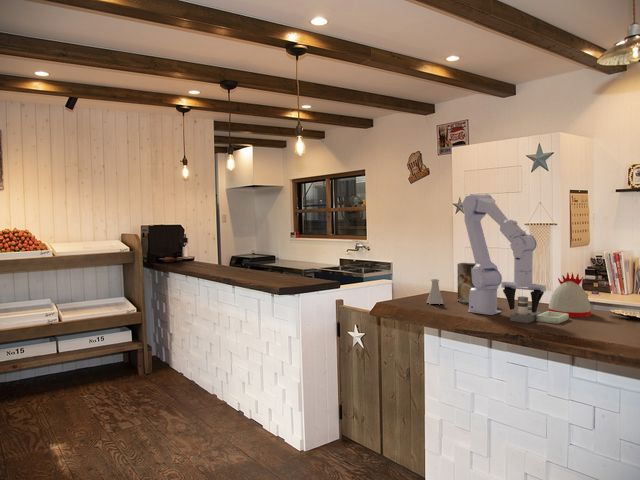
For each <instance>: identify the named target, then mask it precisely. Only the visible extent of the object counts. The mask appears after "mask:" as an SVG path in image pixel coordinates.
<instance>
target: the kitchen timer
mask: <svg viewBox="0 0 640 480" xmlns="http://www.w3.org/2000/svg"><path fill="white" fill-rule="evenodd" d="M579 274H580V273H577V275H576V277H575V276H574V273H573V272H571V276H570V275H569V272H566V277H565V275H564V274H563V275H562V280H561V279H560V278H559V277H558V278H557V280H558V283H559V285H558V286H557V287H556V289H554V290H553V293H552V295H551V297H550V300H549V303H548V310H547V311H551V312H559V313H567V314H569V318H586V317H591V315H592V307H591V303H590V299H589V294H588V293H587V292H586V291H585V290H584V288H583V287H582V286H581V285H580V284H581V282H582V281H583V279H584V277H583V276H582V277H581V278H579V277H580V275H579Z"/></svg>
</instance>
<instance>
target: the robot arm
mask: <svg viewBox="0 0 640 480" xmlns="http://www.w3.org/2000/svg"><path fill="white" fill-rule="evenodd" d="M461 205H462V209H463V215H464V224H465V227H466V231H467V235H468V239H469V243H470V247H471V252H472V255H473V259H474V263H475V264H476V265H475V266H474V267H473V268H472V270H471V271H472V283H473V285H474V286H475V288H472V289H471V290H470V293H469V303H468V310H467V311H468V312H469V313H474V314H482V315H489V316H493V315H496V314H500V313H502V310H498V289H499V286H500V285H501V289H502V288H503V289H502V291H503V294H504V296H505V298H506V300H507V304H508V306H509V310H511V311H512V310H515V306H516V305H515V304H516V303H515V298H516V292H517V290H527V291H530V297H531V306H532V312H533V313H534V312H538V308H539V304H540V301H541V298H542V297H543V295H544V294H545V292H546V291H547V285H546V284H538V283H533V266H534V265H533V257H534V256H533V254H534V251H535V250H536V248H537V245H538V244H537V243H538V242H537V240H536V238H535V236H534V235H532V234H527V232H526V231H525V230H523V229H522V228H521V227H520V225H519V224H518V221H516V220H513V219H508V218H507V217H506V215H505V214H504V213H503V211H502V209H500V208H499V207H498V205H497V203H496V200H495V199H494V198H493V197H492V195H490V194H489V193H486V194H473V193H469V194H467V195H466V196H465V197H464V199H463V200H462V203H461ZM486 215H488V216H489V217H490V218H491V219H492V220H493V221H494V222H495V223H496V224H497V225H499V226H500V227H499V231H500V232H501V235H503V236H504V237H505V238H506V239H507V241H508V242H509V243H510V248H511V250H512V256H513V257H514V259H513V260H514V261H513V262H514V263H513V265H514V267H513V268H514V273H513V275H514V276H513V277H514V279H513V281H503V277H502V273H501V272H500V271H499V270H498V267H497V265H496V264H495V263H494V262H493V261H492V260H491V256H490V253H489V249H488V246H487V241H486V238H485V234H484V230H483V227H482V219H483V218H485V216H486Z"/></svg>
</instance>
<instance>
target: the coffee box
mask: <svg viewBox="0 0 640 480" xmlns="http://www.w3.org/2000/svg"><path fill="white" fill-rule="evenodd" d="M475 265H476V264H475V262H460V263H457V265H456V266H457V269H456V270H457V302H458V301H459V302H458V303H465V304H469V293H470V290H471V289H472V288H475V286H474V285H473V283H472V271H471V270H472V268H473V267H474V266H475Z"/></svg>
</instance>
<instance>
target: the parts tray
mask: <svg viewBox="0 0 640 480" xmlns="http://www.w3.org/2000/svg"><path fill="white" fill-rule="evenodd" d="M569 319H570V317H569V314H567V313H559V312H551V311H548V310H547V311H545V312H541V314H538V315H536V320H535V321H536V322H540V323H548V324H554V325H555V324H556V325H559V324H561V323H563V322H566V321H568V320H569Z"/></svg>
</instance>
